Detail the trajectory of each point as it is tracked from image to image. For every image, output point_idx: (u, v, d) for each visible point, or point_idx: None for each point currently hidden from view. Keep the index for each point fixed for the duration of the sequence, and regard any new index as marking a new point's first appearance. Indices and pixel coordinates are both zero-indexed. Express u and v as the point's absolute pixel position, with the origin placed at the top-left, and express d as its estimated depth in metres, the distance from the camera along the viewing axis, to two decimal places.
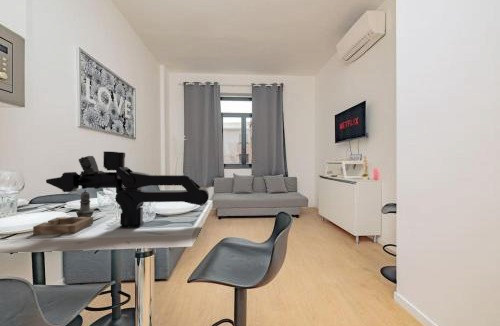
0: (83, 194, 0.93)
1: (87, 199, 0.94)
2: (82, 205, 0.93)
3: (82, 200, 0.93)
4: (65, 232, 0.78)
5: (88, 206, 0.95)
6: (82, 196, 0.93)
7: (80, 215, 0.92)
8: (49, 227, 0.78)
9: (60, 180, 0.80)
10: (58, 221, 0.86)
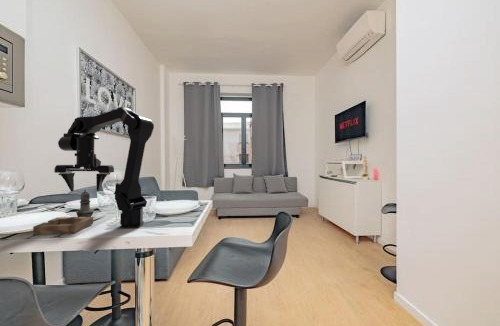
0: (83, 194, 0.93)
1: (87, 199, 0.94)
2: (82, 205, 0.93)
3: (82, 200, 0.93)
4: (65, 232, 0.78)
5: (88, 205, 0.95)
6: (82, 196, 0.93)
7: (80, 215, 0.92)
8: (49, 227, 0.78)
9: None
10: (58, 221, 0.86)
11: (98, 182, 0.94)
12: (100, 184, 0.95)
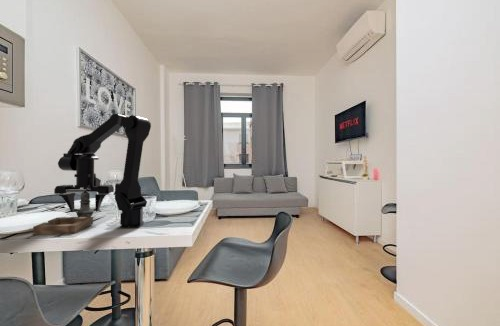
0: (83, 194, 0.93)
1: (87, 199, 0.94)
2: (82, 205, 0.93)
3: (82, 200, 0.93)
4: (65, 232, 0.78)
5: (88, 205, 0.95)
6: (82, 196, 0.93)
7: (80, 215, 0.92)
8: (49, 227, 0.78)
9: None
10: (58, 221, 0.86)
11: (97, 202, 0.94)
12: (99, 204, 0.95)
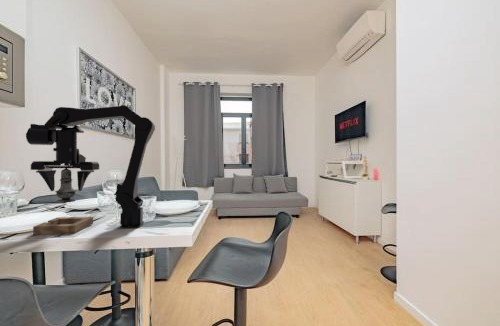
0: (64, 171, 0.83)
1: (68, 177, 0.83)
2: (62, 183, 0.82)
3: (63, 178, 0.83)
4: (65, 232, 0.78)
5: (70, 184, 0.84)
6: (63, 173, 0.82)
7: (60, 194, 0.81)
8: (49, 227, 0.78)
9: None
10: (58, 221, 0.86)
11: (79, 181, 0.83)
12: (82, 183, 0.84)
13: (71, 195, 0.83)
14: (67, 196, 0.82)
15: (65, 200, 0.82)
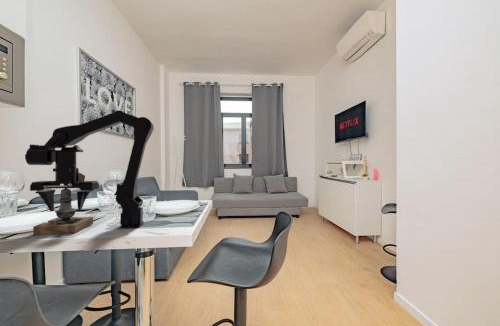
0: (63, 191, 0.82)
1: (68, 197, 0.83)
2: (62, 203, 0.82)
3: (62, 198, 0.82)
4: (65, 232, 0.78)
5: (70, 204, 0.84)
6: (62, 193, 0.82)
7: (60, 215, 0.81)
8: (49, 227, 0.78)
9: None
10: None
11: (79, 201, 0.83)
12: (82, 203, 0.84)
13: (71, 215, 0.83)
14: (67, 216, 0.82)
15: (65, 220, 0.82)
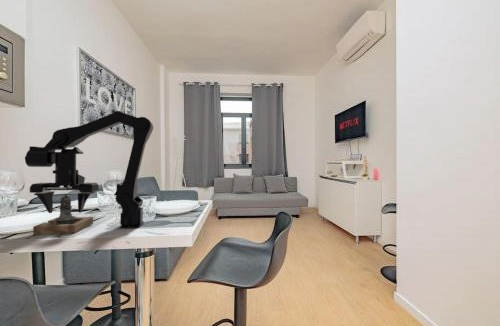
0: None
1: (60, 205, 0.82)
2: None
3: None
4: (65, 232, 0.78)
5: (61, 213, 0.82)
6: None
7: None
8: (49, 227, 0.78)
9: None
10: None
11: (80, 203, 0.83)
12: (82, 204, 0.84)
13: None
14: None
15: None
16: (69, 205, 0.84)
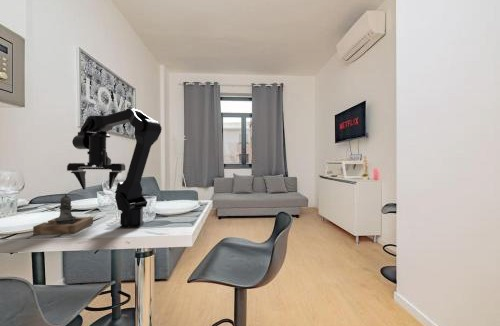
0: None
1: (60, 205, 0.82)
2: None
3: None
4: (65, 232, 0.78)
5: (61, 213, 0.82)
6: None
7: None
8: (49, 227, 0.78)
9: None
10: None
11: (111, 180, 0.95)
12: (112, 182, 0.96)
13: None
14: None
15: None
16: (69, 205, 0.84)
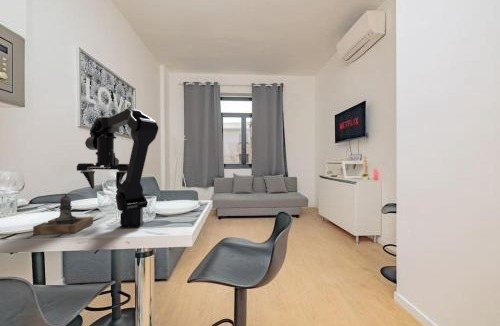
0: None
1: (60, 205, 0.82)
2: None
3: None
4: (65, 232, 0.78)
5: (61, 213, 0.82)
6: None
7: None
8: (49, 227, 0.78)
9: None
10: None
11: (118, 180, 0.98)
12: (119, 182, 0.99)
13: None
14: None
15: None
16: (69, 205, 0.84)
